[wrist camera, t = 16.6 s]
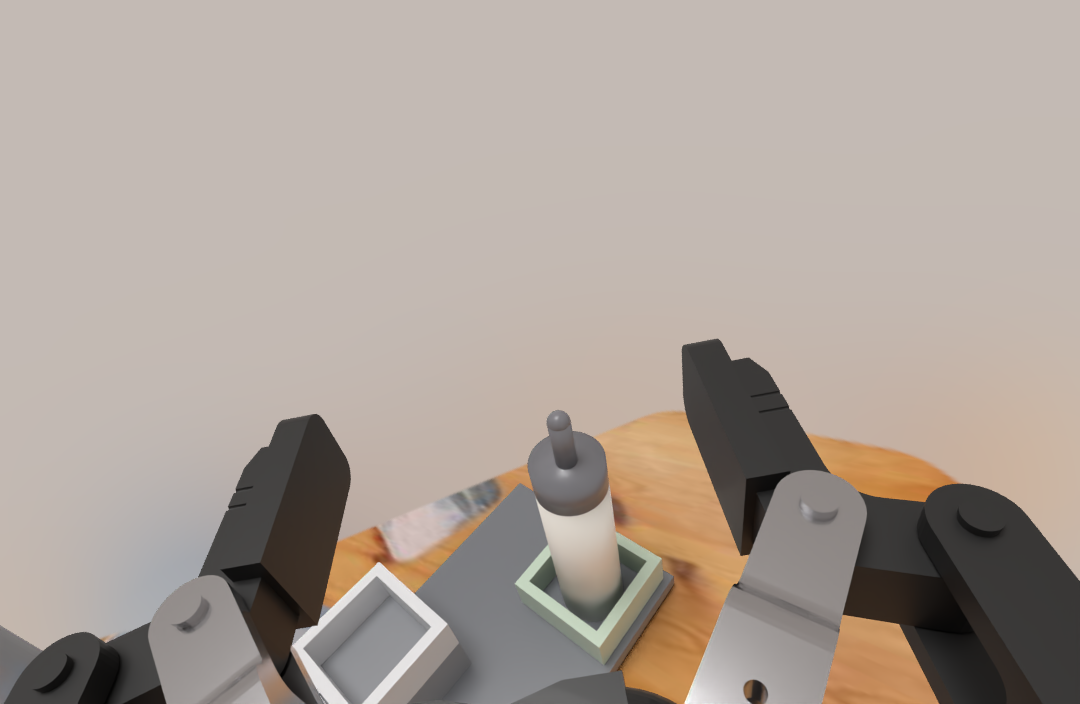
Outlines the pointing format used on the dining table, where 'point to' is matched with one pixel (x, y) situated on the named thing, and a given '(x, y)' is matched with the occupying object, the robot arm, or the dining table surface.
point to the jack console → (477, 622)
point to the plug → (577, 517)
